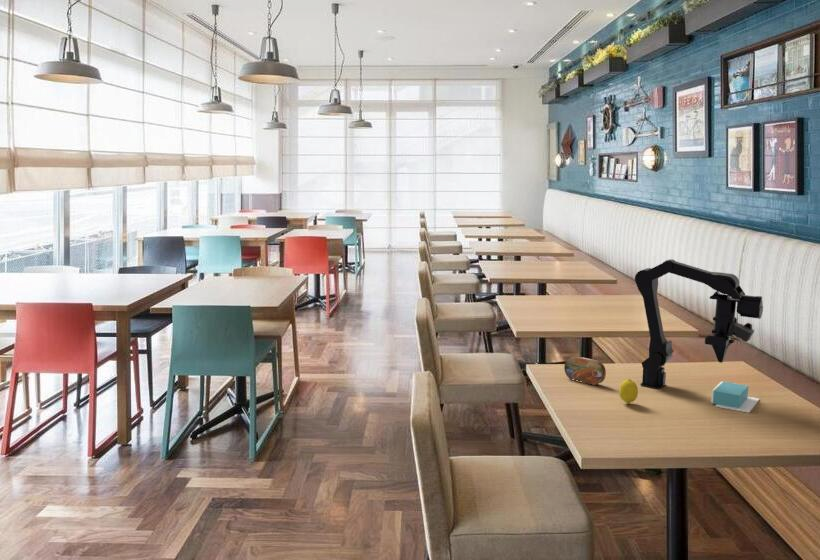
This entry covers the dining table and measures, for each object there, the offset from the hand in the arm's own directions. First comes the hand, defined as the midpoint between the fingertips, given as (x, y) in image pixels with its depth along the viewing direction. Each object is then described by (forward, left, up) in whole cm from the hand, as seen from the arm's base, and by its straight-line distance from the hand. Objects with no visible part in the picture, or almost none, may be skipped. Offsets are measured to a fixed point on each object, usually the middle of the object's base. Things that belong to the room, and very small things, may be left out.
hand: (720, 362), depth 227 cm
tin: (-41, -10, -12) cm, 44 cm away
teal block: (0, -3, -9) cm, 9 cm away
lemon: (-21, -24, -12) cm, 34 cm away
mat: (+7, -3, -11) cm, 13 cm away
